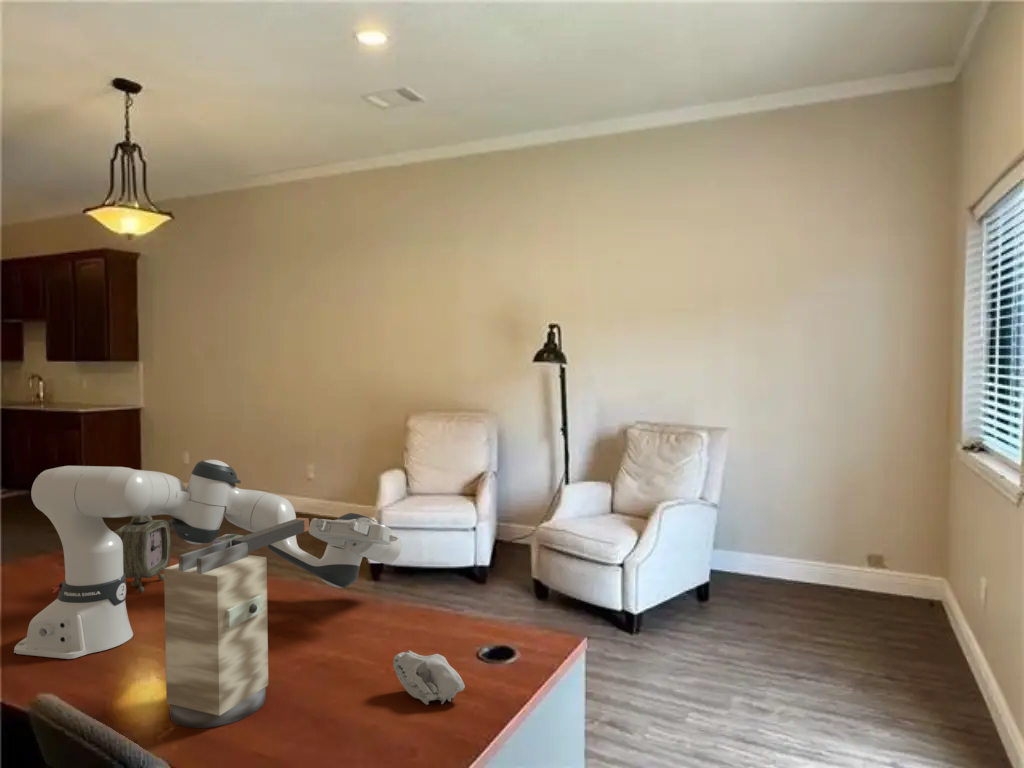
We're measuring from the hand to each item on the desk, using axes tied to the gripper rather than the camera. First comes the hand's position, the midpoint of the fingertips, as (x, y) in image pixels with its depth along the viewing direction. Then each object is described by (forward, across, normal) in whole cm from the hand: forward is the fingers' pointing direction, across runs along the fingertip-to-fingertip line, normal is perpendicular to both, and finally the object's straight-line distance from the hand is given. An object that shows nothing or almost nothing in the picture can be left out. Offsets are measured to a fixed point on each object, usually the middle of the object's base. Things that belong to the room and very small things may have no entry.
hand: (334, 523), depth 159 cm
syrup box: (-25, +44, -16) cm, 53 cm away
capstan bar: (+20, 0, -8) cm, 21 cm away
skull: (+7, -34, -31) cm, 47 cm away
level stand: (+22, 0, -38) cm, 44 cm away
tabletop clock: (-20, +68, -19) cm, 73 cm away
